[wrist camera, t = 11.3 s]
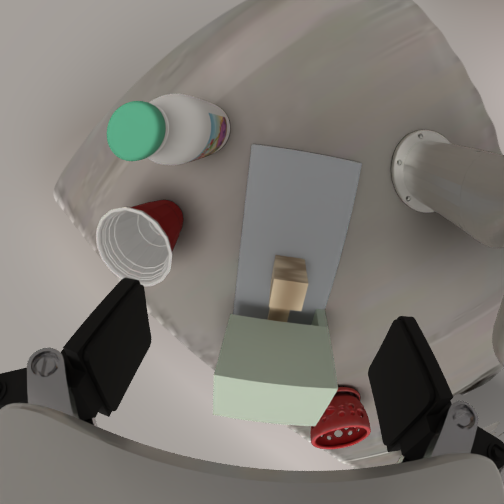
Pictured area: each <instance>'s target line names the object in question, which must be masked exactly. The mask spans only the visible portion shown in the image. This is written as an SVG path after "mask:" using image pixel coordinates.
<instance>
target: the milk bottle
mask: <svg viewBox="0 0 504 504" xmlns="http://www.w3.org/2000/svg"><path fill="white" fill-rule="evenodd" d="M229 134H230V123H229V119H228V117H227V115H226V113H225V112H224V111H223V110H222V109H221V108H220V107H218V106H217V105H215V104H212V103H210V102H207V101H205V100H202V99H199V98H196V97H193V96H190V95H185V94H167V95H163V96H160V97H158V98H156V99H154V100H152V101H151V102H143V101H132V102H129V103H126V104H124V105H122V106H121V107H119V108H118V109H117V110H116V111H115V112H114V113H113V115H112V117H111V118H110V121H109V123H108V127H107V141H108V144H109V147H110V149H111V150H112V152H113V153H114V154H115V155H116V156H117V157H119V158H121V159H123V160H126V161H137V160H142V159H145V158H148V159H150V160H151V161H153V162H156V163H158V164H163V165H180V164H184V163H188V162H191V161H194V160H197V159H200V158H203V157H206V156H209V155H211V154H213V153H215V152H217V151H218V150H220V149H221V148H222V147H223V146H224V145H225V143H226V141H227V140H228V137H229Z"/></svg>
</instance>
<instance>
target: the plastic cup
mask: <svg viewBox="0 0 504 504" xmlns="http://www.w3.org/2000/svg"><path fill="white" fill-rule="evenodd" d="M182 225H183V215H182V211H181V210H180V208H179V207H178V206H177V205H176V204H175V203H174V202H172V201H168V200H159V201H154V202H148V203H145V204H141V205H137V206H134V207H123V208H117V209H112V210H110V211H109V212H108V213H107V214H105V215H104V216H103V217H102V218H101V219H100V222H99V224H98V227H97V230H96V242H97V247H98V250H99V253H100V255H101V258H102V260H103V261H104V263H105V264H106V265H107V267H108V268H109V269H110V270H111V272H112V273H114V274H115V275H116V276H118V277H119V278H120V279H123V278H125V277H126V278H131V279H136V280H139V282H140V284H141V285H143V286H153V285H155V284H157V283H159V282H161V281H163V280H164V279H165V277H166V276H167V274H168V273H169V271H170V270H171V262H172V254H173V253H172V251H173V248H174V246H175V244H176V241H177V239H178V237H179V233H180V231H181V229H182Z"/></svg>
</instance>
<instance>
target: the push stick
mask: <svg viewBox="0 0 504 504" xmlns="http://www.w3.org/2000/svg"><path fill="white" fill-rule="evenodd" d="M307 287H308V277H307V271H306V264H305V259H301V258H294V257H287V256H280V255H275V260H274V266H273V272H272V278H271V287H270V299H269V307H270V309H269V315H268V320H273V321H280V322H287V320H288V316H289V312H290V310H295V311H301V310H302V307H303V303H304V299H305V295H306V291H307Z"/></svg>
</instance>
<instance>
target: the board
mask: <svg viewBox="0 0 504 504" xmlns="http://www.w3.org/2000/svg"><path fill="white" fill-rule="evenodd" d="M361 166H362V163H359V162H355V161H351V160H346V159H341V158H337V157H332V156H327V155H322V154H316V153H311V152H305V151H299V150H293V149H287V148H280V147H273V146H265V145H257V144H252V147H251V156H250V164H249V173H248V182H247V190H246V199H245V208H244V217H243V226H242V235H241V245H240V254H239V263H238V273H237V283H236V293H235V302H234V312H233V315H239V316H246V317H252V318H259V319H266V320H268V315H269V309H270V307H269V299H270V287H271V278H272V272H273V266H274V260H275V255H280V256H287V257H294V258H301V259H305V264H306V271H307V277H308V287H307V291H306V295H305V299H304V303H303V307H302V310H301V311H295V310H290V312H289V316H288V320H287V322H288V323H296V324H304V325H311V324H312V321H313V317H314V314H315V311H316V309H322V310H325V308H326V304H327V301H328V298H329V295H330V292H331V288H332V285H333V282H334V278H335V275H336V271H337V268H338V264H339V261H340V257H341V253H342V250H343V246H344V242H345V238H346V234H347V230H348V226H349V222H350V218H351V213H352V209H353V205H354V200H355V195H356V191H357V186H358V181H359V176H360V171H361Z"/></svg>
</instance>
